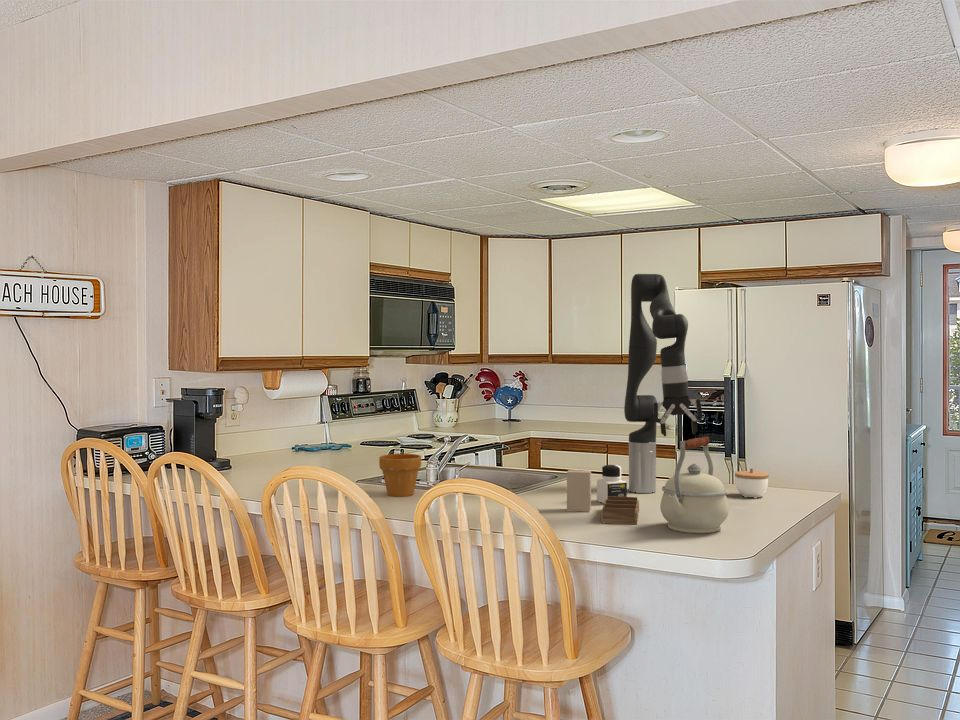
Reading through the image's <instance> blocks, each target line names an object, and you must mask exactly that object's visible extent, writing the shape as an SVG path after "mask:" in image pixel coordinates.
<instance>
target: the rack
mask: <svg viewBox="0 0 960 720" xmlns="http://www.w3.org/2000/svg"><path fill="white" fill-rule="evenodd" d="M639 511H640V500H638V496H637V497H636V496H627V497H616V496H607V499H606V500H605V503H604V504H603V506H602V508H601V512H600V523H601V522H605V523H604V524H617V523H620V525H621V524H622V525H637V524H638V520H637V519H638V518H639V514H640V513H639ZM638 513H639V514H638Z"/></svg>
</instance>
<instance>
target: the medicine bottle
mask: <svg viewBox="0 0 960 720" xmlns="http://www.w3.org/2000/svg"><path fill="white" fill-rule="evenodd" d="M601 469H602V471H601V472H602V474H601V475H602V476H601V477H602V479H601V478H600V479H596V502H597V501H599V502H598V503H600V502H602V503H601V504H603V503H605V500H606V499H607V496H616V497H628V488H627V487H628V482H627V481H626V480H622V467H621V466H620V465H618V464H606V465H603V466H602V468H601Z"/></svg>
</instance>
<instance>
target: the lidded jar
mask: <svg viewBox="0 0 960 720" xmlns="http://www.w3.org/2000/svg"><path fill="white" fill-rule="evenodd" d="M734 477H735V478H734V479H735V486H736V490H737V491H738V492H739V494H740V495H741V496H742V497H743V496H744V497H743V498H747V497H760V498H762V496H763V495H764V494H765V493H766V491H767V489H768V485H769V473H767V472H764V471H757V470H754V467H751V468H749V470H739V471H736V472H735V473H734Z"/></svg>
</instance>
